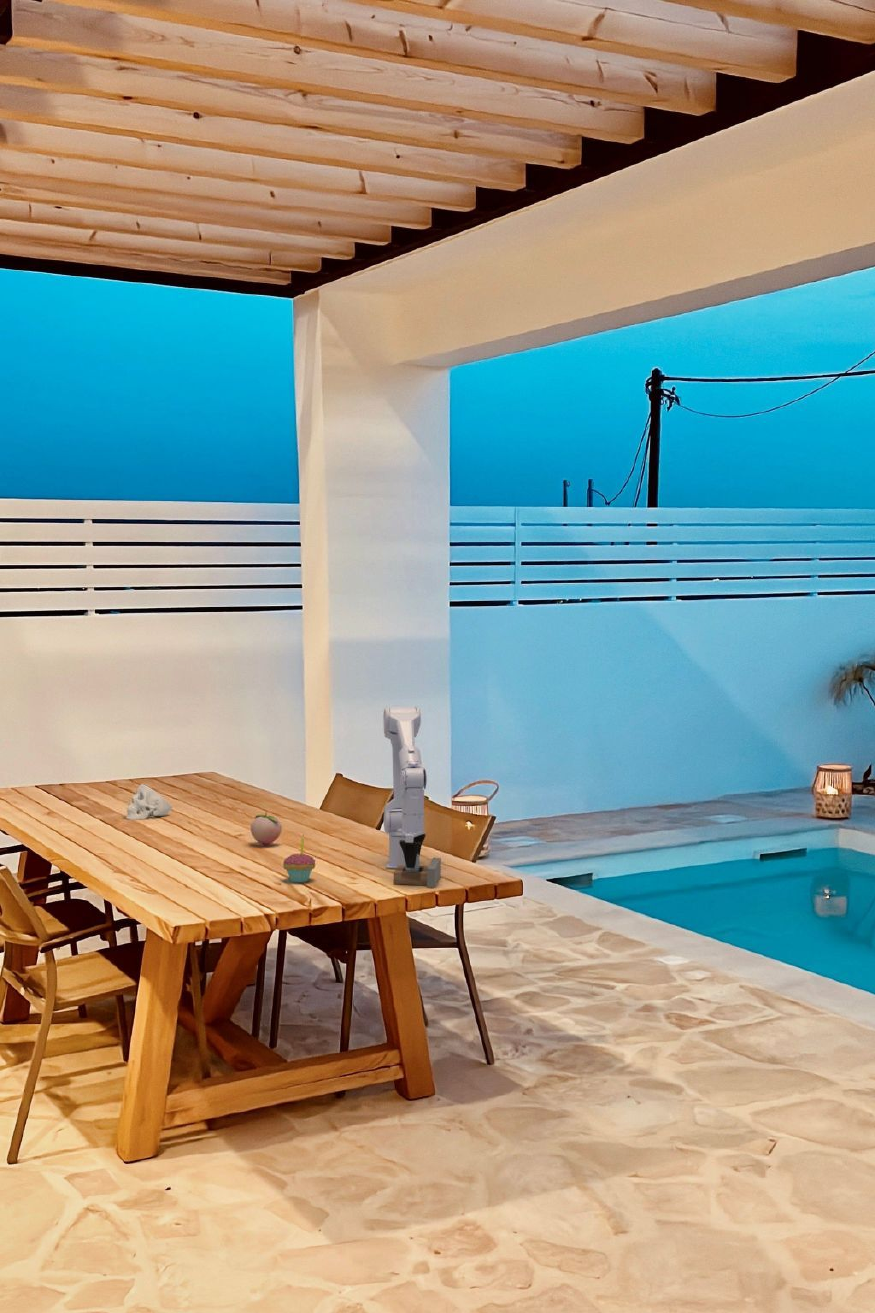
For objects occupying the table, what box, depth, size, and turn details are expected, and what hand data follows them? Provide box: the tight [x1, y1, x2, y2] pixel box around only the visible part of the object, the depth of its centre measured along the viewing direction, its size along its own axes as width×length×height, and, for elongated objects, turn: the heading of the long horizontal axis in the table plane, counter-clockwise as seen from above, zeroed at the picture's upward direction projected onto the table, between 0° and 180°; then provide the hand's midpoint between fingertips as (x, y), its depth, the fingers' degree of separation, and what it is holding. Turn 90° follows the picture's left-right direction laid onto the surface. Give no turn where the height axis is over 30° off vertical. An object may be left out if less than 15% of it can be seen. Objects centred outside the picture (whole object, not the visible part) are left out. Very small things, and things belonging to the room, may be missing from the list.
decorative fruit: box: [250, 812, 283, 846], centre depth 393 cm, size 9×8×10 cm
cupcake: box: [282, 833, 316, 884], centre depth 347 cm, size 9×8×12 cm
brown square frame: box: [393, 865, 429, 886], centre depth 348 cm, size 9×9×3 cm
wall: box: [426, 857, 442, 889], centre depth 347 cm, size 14×2×5 cm, turn 174°
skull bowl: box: [125, 783, 173, 821], centre depth 440 cm, size 10×14×12 cm
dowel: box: [405, 854, 420, 872], centre depth 348 cm, size 4×4×7 cm
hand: (412, 864), depth 348 cm, fingers open, 7 cm apart
